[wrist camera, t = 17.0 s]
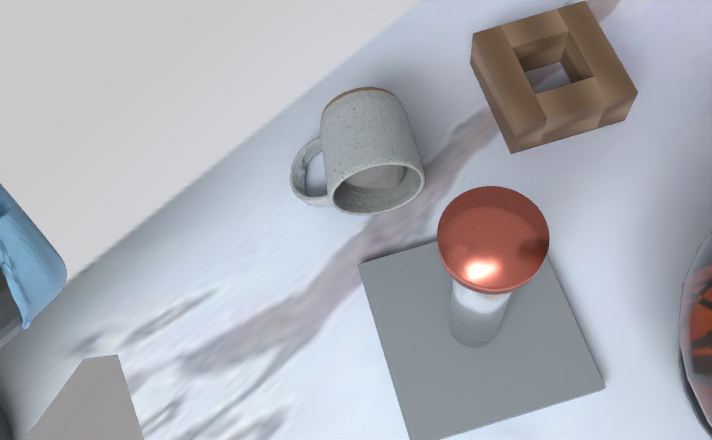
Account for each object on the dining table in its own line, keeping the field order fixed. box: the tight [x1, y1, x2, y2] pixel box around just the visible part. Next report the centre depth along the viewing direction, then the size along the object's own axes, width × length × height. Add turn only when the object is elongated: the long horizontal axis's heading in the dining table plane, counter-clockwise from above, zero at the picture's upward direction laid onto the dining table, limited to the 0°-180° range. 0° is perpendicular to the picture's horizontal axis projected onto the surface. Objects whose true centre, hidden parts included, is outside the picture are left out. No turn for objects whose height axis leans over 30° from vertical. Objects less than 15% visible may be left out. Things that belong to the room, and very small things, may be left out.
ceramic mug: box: [290, 87, 425, 215], centre depth 51 cm, size 11×8×8 cm
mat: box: [358, 241, 606, 440], centre depth 48 cm, size 14×14×1 cm
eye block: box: [470, 1, 638, 154], centre depth 55 cm, size 10×10×4 cm
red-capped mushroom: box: [437, 186, 549, 348], centre depth 40 cm, size 6×6×16 cm
